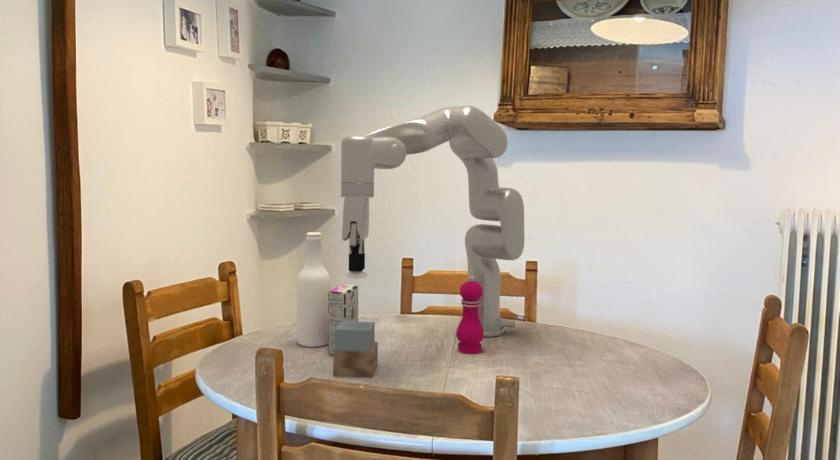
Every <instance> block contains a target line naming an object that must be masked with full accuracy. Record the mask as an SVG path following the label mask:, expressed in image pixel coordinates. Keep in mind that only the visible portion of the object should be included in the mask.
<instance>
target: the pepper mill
mask: <svg viewBox="0 0 840 460" xmlns="http://www.w3.org/2000/svg"><path fill="white" fill-rule="evenodd" d="M468 280H469V281H468ZM467 281H468V282H467ZM467 281H465V282H463V283H462V284H461V286H460V288H459V295H460V296H461V303H460V304H461V306H462V317H461V319H460V322H459V324H458V326H457V328H456V338H457V339H458V341H459V342H458V343H457V351H458V352H459V353H462V354H467V355H469V354H470V355H475V354H480V353H481V352H482V349H483V344H482V343H481V341H483V339H484V338H485V337H484V331H483V327H482V325H481V322H480V319H479V313H478V310H479V306H480V305H481V304H480V302H481V301H480V300H479V299H480V297H481V296H482V294H483V289H482V286H481V285H480V284H479V283H477V282H474V281H475V277H474V276H472V275H471V276H469V277H468V276H467Z"/></svg>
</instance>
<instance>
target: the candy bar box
mask: <svg viewBox="0 0 840 460" xmlns="http://www.w3.org/2000/svg"><path fill="white" fill-rule="evenodd" d="M341 321H354V322H359V285H358V284H351V283H350V284H347V283H342V284H339V285H338V286H336V287H335V288H333V289H330V291H329V292H328V324H329V326H328V327H329V343H328V355H331V356H333V351H334V350H335V329H336V327H337V326H338V325H339V324H340V322H341Z"/></svg>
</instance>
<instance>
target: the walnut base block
mask: <svg viewBox="0 0 840 460" xmlns="http://www.w3.org/2000/svg"><path fill="white" fill-rule="evenodd" d="M378 344H379V342H378V341H375V343H374V345H373V347H372V348H371V350H370V352H352V351H335V350H334V351H333V355H332V356H333V357H332V358H333V360H332V361H333V369H332V370H333V371H332V375H333V377H338V378H340V377H341V378H366V377H368V378H367V379H369V378H370V379H371V378H372V379H373V377H374V375H375V373H376V370H377V367H378V355H379V354H378Z"/></svg>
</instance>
